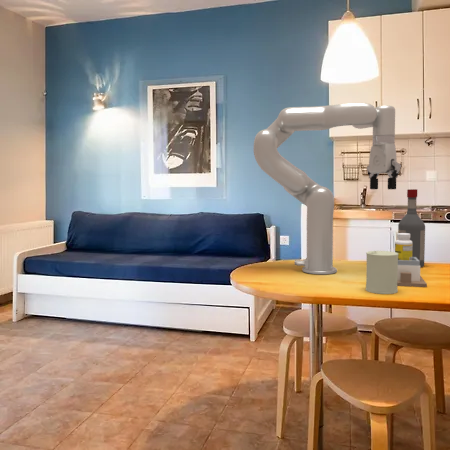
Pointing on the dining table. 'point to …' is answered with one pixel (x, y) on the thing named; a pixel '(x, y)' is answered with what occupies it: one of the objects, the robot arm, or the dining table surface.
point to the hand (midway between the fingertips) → (382, 189)
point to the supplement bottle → (403, 246)
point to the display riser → (410, 273)
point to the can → (382, 272)
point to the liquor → (414, 227)
